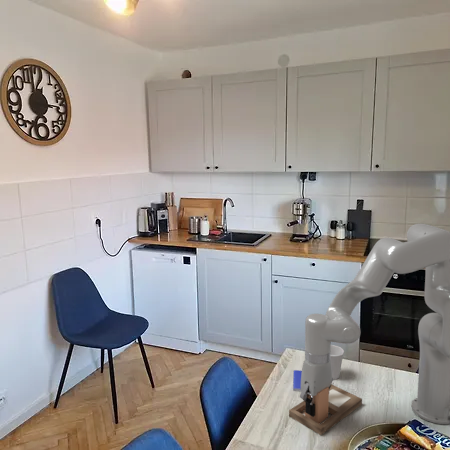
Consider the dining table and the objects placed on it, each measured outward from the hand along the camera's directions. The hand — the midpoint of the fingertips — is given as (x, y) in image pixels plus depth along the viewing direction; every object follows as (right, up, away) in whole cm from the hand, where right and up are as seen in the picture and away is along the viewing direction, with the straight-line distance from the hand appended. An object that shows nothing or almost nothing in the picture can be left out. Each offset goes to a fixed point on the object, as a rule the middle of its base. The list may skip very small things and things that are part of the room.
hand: (316, 409), depth 122 cm
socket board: (+4, -2, +4) cm, 6 cm away
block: (0, -3, 0) cm, 3 cm away
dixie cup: (+11, +1, +24) cm, 27 cm away
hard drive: (0, 0, +20) cm, 20 cm away
